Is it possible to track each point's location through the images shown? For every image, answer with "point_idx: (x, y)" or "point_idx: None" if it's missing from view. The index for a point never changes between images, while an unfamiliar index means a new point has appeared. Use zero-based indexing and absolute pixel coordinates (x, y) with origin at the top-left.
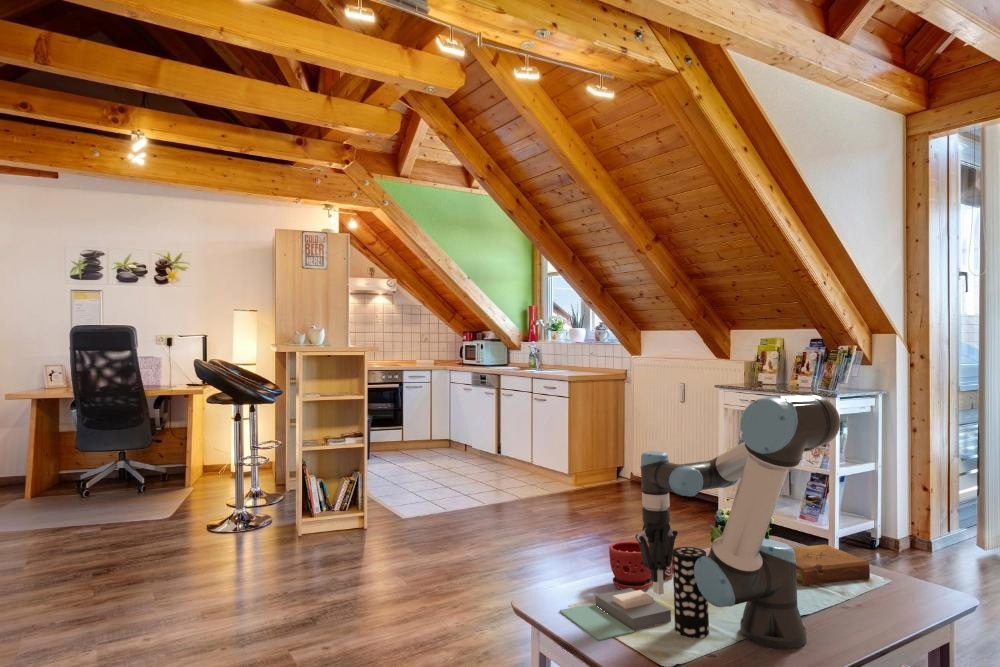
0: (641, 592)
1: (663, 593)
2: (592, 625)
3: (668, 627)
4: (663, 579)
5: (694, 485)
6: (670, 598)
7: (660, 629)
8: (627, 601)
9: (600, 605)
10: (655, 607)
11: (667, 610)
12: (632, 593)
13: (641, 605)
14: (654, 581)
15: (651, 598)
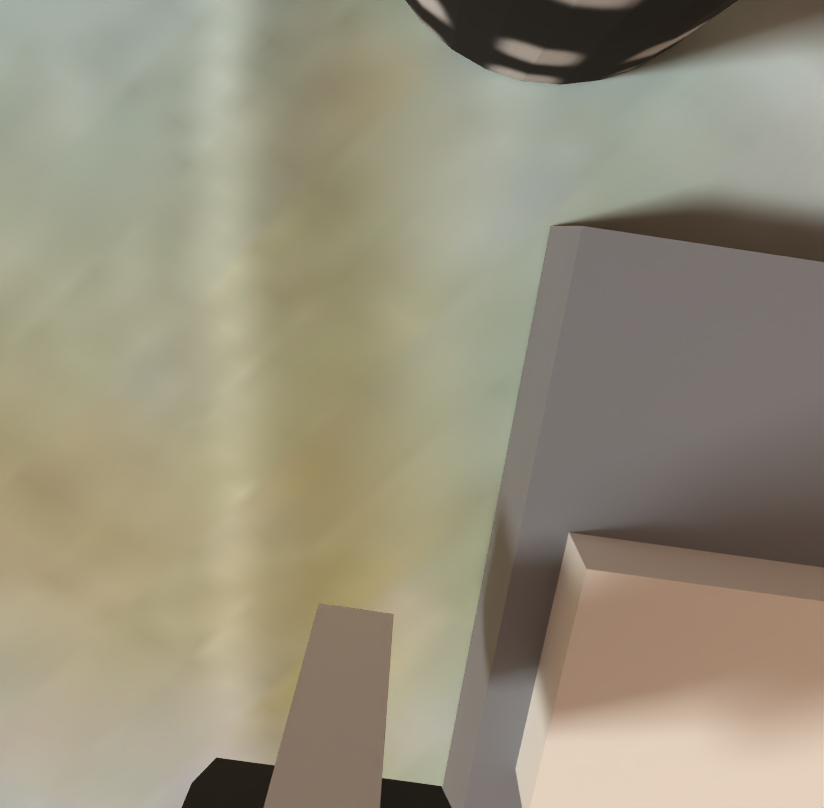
0: (579, 763)
1: (321, 606)
2: None
3: (701, 126)
4: (235, 775)
5: None
6: (99, 651)
7: (816, 142)
8: None
9: None
10: (676, 409)
11: (630, 240)
12: (702, 800)
13: (759, 556)
14: (442, 800)
15: (617, 565)
